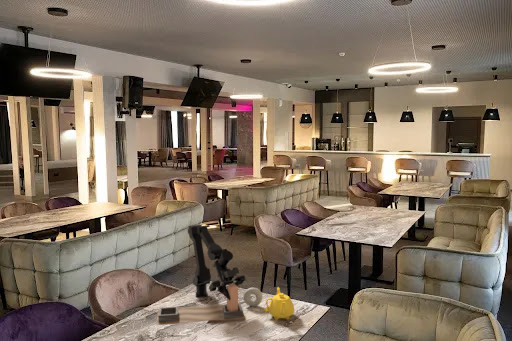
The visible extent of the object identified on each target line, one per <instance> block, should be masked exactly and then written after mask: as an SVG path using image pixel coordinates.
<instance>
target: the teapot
mask: <svg viewBox="0 0 512 341" xmlns="http://www.w3.org/2000/svg"><path fill="white" fill-rule="evenodd" d="M280 289H281V288H280V287H279V286H277V287H276V294H275V295H273V296H272V297H268V298H267V299H265V305H266V306H265V307H264V312H267V313H269V314H270V315H271V316H272V317H273V319H274V320H275V321H278V320H279V319H285V320H291V317H292V315H293V314H295V305H294V303H293V301H292V299H291V297H290V296H288V294H285V293H283V292H281V290H280ZM269 301H270V302H269ZM268 302H269V303H268Z"/></svg>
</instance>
